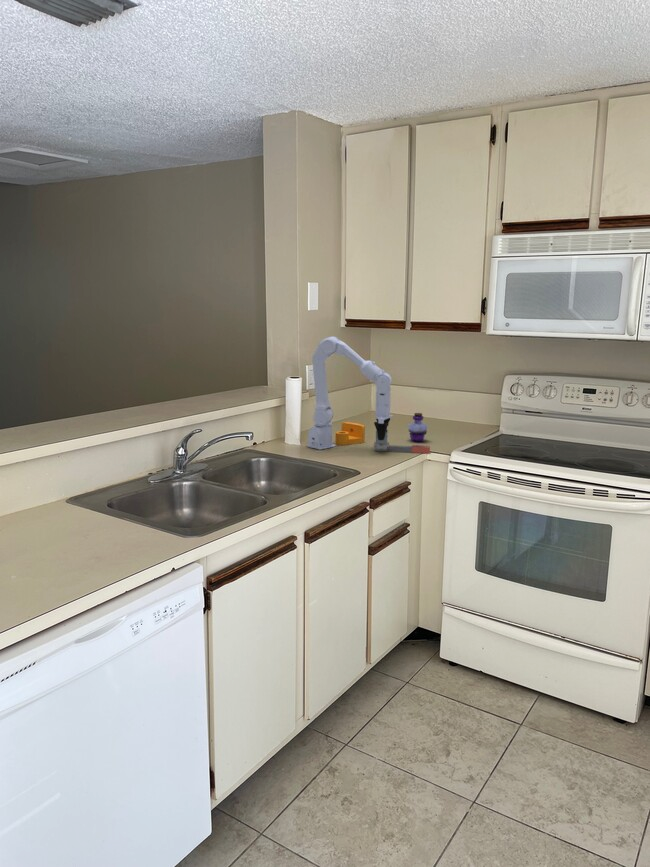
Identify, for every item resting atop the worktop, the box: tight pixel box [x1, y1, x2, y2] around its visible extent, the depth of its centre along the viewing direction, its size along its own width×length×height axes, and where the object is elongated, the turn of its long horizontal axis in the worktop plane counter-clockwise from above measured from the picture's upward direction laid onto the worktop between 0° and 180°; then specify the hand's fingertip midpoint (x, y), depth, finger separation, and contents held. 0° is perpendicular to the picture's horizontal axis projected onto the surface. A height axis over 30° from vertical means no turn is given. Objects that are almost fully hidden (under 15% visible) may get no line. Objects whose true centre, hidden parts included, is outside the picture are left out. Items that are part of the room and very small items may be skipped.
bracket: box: [334, 421, 366, 446], centre depth 277 cm, size 11×7×12 cm
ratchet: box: [373, 441, 431, 455], centre depth 263 cm, size 22×6×6 cm, turn 81°
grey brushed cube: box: [375, 429, 389, 444], centre depth 264 cm, size 4×4×5 cm
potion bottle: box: [407, 412, 429, 444], centre depth 280 cm, size 9×9×12 cm
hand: (381, 438), depth 264 cm, fingers open, 7 cm apart
